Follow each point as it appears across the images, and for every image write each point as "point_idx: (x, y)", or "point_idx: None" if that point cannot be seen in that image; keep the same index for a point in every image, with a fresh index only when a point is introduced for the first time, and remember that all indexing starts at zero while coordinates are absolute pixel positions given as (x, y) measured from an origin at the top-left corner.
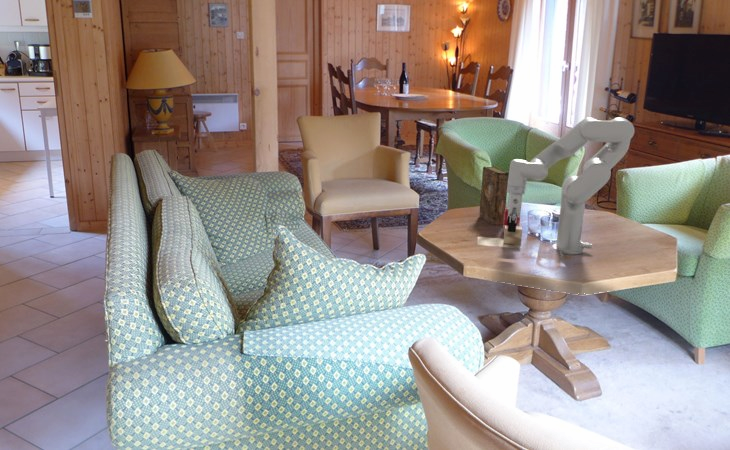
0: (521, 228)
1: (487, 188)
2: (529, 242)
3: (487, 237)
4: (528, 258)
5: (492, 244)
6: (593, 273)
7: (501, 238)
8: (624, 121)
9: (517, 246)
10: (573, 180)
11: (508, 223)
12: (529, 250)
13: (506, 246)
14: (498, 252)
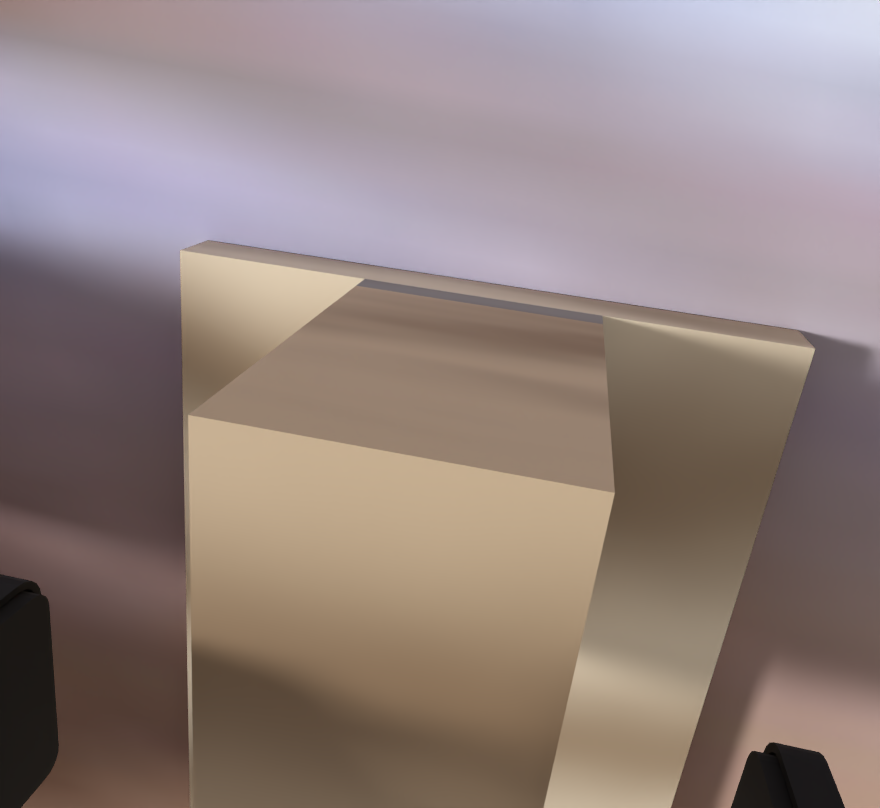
0: (436, 479)
1: None
2: (148, 7)
3: (192, 769)
4: None
5: (568, 797)
6: None
7: (188, 581)
8: None
9: (671, 399)
10: None
11: (25, 777)
12: (746, 116)
13: (678, 611)
14: (862, 738)
